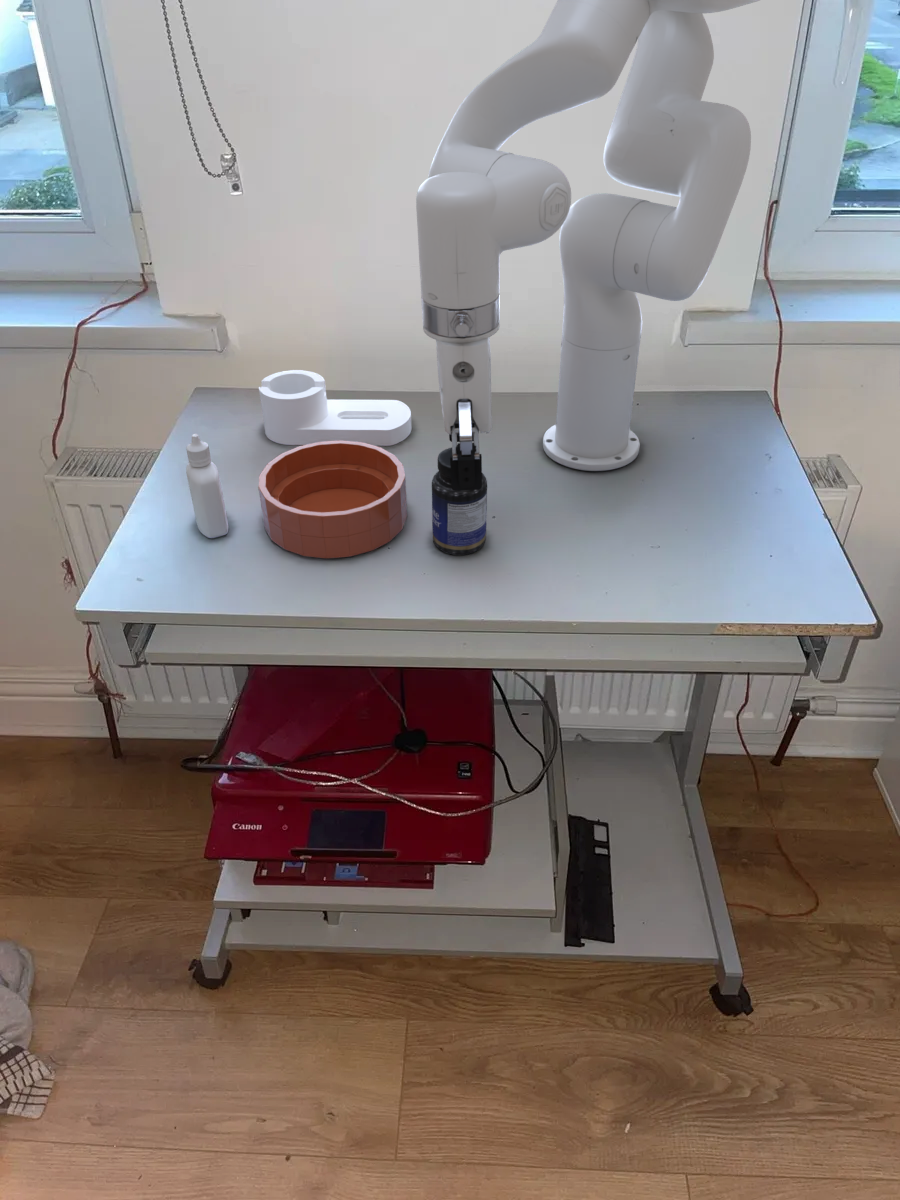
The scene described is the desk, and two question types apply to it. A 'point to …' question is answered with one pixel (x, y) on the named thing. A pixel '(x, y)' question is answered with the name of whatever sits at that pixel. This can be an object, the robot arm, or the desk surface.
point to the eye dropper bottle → (205, 490)
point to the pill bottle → (457, 512)
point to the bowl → (333, 498)
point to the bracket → (327, 413)
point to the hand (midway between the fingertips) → (465, 463)
